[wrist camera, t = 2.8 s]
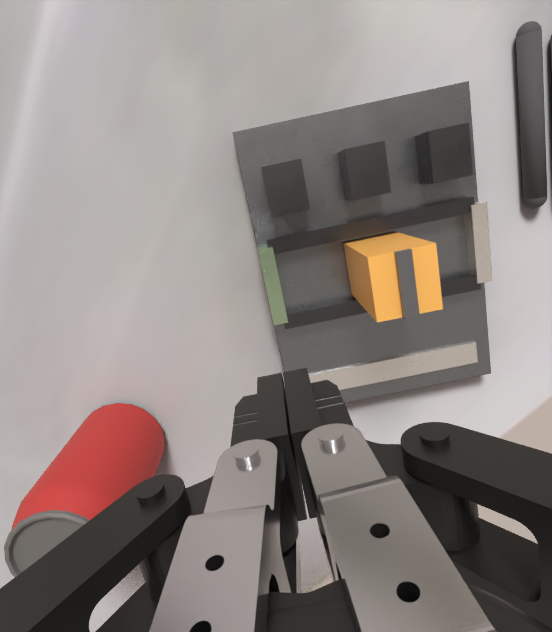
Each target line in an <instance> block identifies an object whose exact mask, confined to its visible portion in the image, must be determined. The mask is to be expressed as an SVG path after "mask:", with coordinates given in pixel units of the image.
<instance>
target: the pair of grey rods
mask: <svg viewBox="0 0 552 632" xmlns="http://www.w3.org/2000/svg"><path fill="white" fill-rule="evenodd" d="M516 55H517V75H518V96H519V117H520V138H521V158H522V179H523V199H524V203H525V204H526V205H527V206H528V207H530V208H537V207H540V206H542V205H543V204H544V203H545V202H546V200H547V175H546V145H545V116H544V86H543V56H542V30H541V26H540V25H539V24H538V23H537V22H534V21H530V22H527V23H525V24H523V25H522V26H521V27H520V28H519V30H518V31H517V34H516ZM551 70H552V35H551Z"/></svg>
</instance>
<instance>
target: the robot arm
mask: <svg viewBox="0 0 552 632" xmlns="http://www.w3.org/2000/svg"><path fill="white" fill-rule="evenodd" d="M283 375H284V382H283V378H282V374H281V373H278V374H273V375H268V376H263V377H258V381H257V394H255V395H250V396H245V397H243V398H242V399H241V400H240V401H239V403H238V404H237V405H236V406H235V413H234V422H233V425H234V426H233V431H232V439H231V447H230V448H229V449H227V450H226V451H225V452H224V453H223V454H222V455H221V456H220V458H219V460H218V462H217V466H216V470H215V473H214V476H212V477H211V478H209V479H207V480H205V481H203V482H200V483H198V484H195V485H193V486H191V487H188V488H186V489H185V485H184V482H183V480H182V479H181V478H180V477H178V476H175V475H159V476H155V477H152V478H149V479H146V480H144V481H142V482H140V483H139V484H137V485H136V486H134V487H133V488H131V489H130V490H129V491H127V492H126V493H125V494H123V495H122V496H121V497H120V498H118V499H117V500H116V501H114V502H113V503H112V504H110V505H109V506H108V507H106V508H105V509H104V510H103V511H101V512H100V513H99V514H97V515H96V516H95V517H93V518H92V519H91V520H90V521H88V522H87V523H86V524H84V525H83V526H82V527H80V528H79V529H78V530H76V531H75V532H74V533H73V534H71V535H70V536H69V537H67V538H66V539H65V540H63V541H62V542H61V543H59V544H58V545H57V546H56V547H54V548H53V549H52V550H50V551H49V552H48V553H46V554H45V555H44V556H42V557H41V558H40V559H39V560H37V561H36V562H35V563H33V564H32V565H31V566H29V567H28V568H27V569H26V570H24V571H23V572H22V573H20V574H19V575H18V576H16V577H15V578H14V579H12V580H11V581H10V582H9V583H7V584H6V585H5V586H3V587H2V588H1V589H0V632H90V631H89V620H90V616H91V613H92V611H93V609H94V608H95V606H96V605H97V603H98V602H99V601H100V600H101V599H102V598H103V597H104V596H105V595H106V594H107V593H108V592H109V591H110V590H111V589H112V588H113V587H115V586H116V585H117V584H118V583H119V582H120V581H121V580H122V579H123V578H124V577H125V576H126V575H127V574H128V573H130V572H131V571H132V570H133V569H134V568H135V567H136V566H137V565H138V564H139V565H140V568H141V571H142V574H143V577H144V579H145V583H144V584H143V585H142V586H141V587H140V588H139V589H138V590H137V591H136V592H135V593H134V594H133V595H132V596H131V597H130V598H129V599H128V600H127V601H126V602H125V603H124V604H123V605H122V606H121V607H120V608H119V609H118V610H117V611H116V612H115V613H114V614H113V615H112V616H111V617H110V618H109V619H108V620H107V621H106V622H105V623H104V624H103V625H102V626H101V627H100V628H99V629H98V630H97V631H96V632H552V454H550V453H547V452H544V451H540V450H537V449H533V448H530V447H527V446H524V445H520V444H516V443H513V442H510V441H507V440H503V439H500V438H496V437H493V436H490V435H486V434H483V433H479V432H476V431H473V430H469V429H466V428H462V427H459V426H456V425H452V424H448V423H442V422H429V423H422V424H418V425H415V426H413V427H411V428H409V429H408V430H406V431H405V432H404V433H403V435H402V437H401V444H378V443H373V442H370V441H367V440H365V438H364V437H363V435H362V433H361V432H360V431H359V430H358V429H357V428H355V427H354V426H353V423H352V421H351V418H350V416H349V413H348V411H347V408H346V406H345V404H344V401H343V399H342V396H341V394H340V391H339V389H338V386H337V385H335V384H334V383H332V382H330V381H329V380H323V381H318V382H313V383H311V382H310V378H309V375H308V371H307V368H302V369H297V370H292V371H287V372H283ZM284 383H285V387H284ZM302 486H303V488H302ZM303 490H304V495H305V499H306V504H307V508H308V513H309V517H310V518H315V517H317V521H318V525H319V530H320V534H321V539H322V544H323V548H324V551H325V555H326V559H327V562H328V566H329V569H330V573H331V577H332V580H333V582H332V583H330V584H328V585H326V586H323V587H321V588H319V589H317V590H314V591H312V592H309V593H301V566H300V546H299V542H298V521H301V520H306V519H307V516H306V509H305V502H304V495H303ZM477 504H479V505H481V506H484V507H486V508H489V509H491V510H493V511H496V512H498V513H500V514H503V515H505V516H508V517H510V518H512V519H515V520H517V521H519V522H520V523H522V524H523V525H524V526H526V527H527V528H528V529H529V530H530V531H531V532H532V533H533V535H534V536H535V538H536V540H537V542H538V544H536V543H534V542H532V541H530V540H528V539H525V538H523V537H521V536H519V535H516V534H514V533H512V532H510V531H507V530H505V529H503V528H501V527H498V526H496V525H494V524H492V523H489V522H487V521H485V520H483V519H480V518H479V517H478V508H477Z"/></svg>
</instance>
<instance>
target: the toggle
mask: <svg viewBox="0 0 552 632" xmlns="http://www.w3.org/2000/svg"><path fill="white" fill-rule="evenodd" d="M343 245H344V251H345V257H346V263H347V269H348V276H349V282H350V288H351V294H352V295H353V296H354V297H355V299H356V300H357V301H358V302H359V303H360V304H361V305H362V306H363V307H364V309H365V310H366V311H367V312H368V313H369V314H370V315H371V316H372V317H373V319H374V320H375V321H376V322H377V323H378V322H383V321H387V320H392V319H397V318H402V317H403V318H404V319H410V318H414V317H419V316H420V314H422V313H426V312H431V311H436V310H441V309H443V304H442V295H441V285H440V276H439V266H438V256H437V247H436V243H434V242H430V241H427V240H423V239H420V238H416V237H413V236H409V235H406V234H402V233H399V232H393V233H388V234H383V235H378V236H374V237H369V238H364V239H359V240H354V241H350V242H345V243H343Z"/></svg>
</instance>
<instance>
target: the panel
mask: <svg viewBox="0 0 552 632" xmlns="http://www.w3.org/2000/svg"><path fill="white" fill-rule="evenodd" d="M233 136H234V141H235V145H236V150H237V155H238V159H239V164H240V168H241V173H242V178H243V182H244V187H245V192H246V196H247V201H248V205H249V210H250V215H251V219H252V224H253V229H254V233H255V238H256V243H257V247H258V255H259V259H260V264H261V269H262V273H263V278H264V282H265V287H266V292H267V296H268V301H269V306H270V310H271V315H272V319H273V324H274V326H275V331H276V335H277V340H278V344H279V349H280V354H281V358H282V363H283V368H284V372H287V371H292V370H297V369H302V368H307V371H308V375H309V378H310V382H311V383H313V382H318V381H323V380H329V381H330V382H332V383H334V384H335V385H337V386H338V389H339V391H340V394H341V396H342V399H343V401H344V403H346V402H351V401H356V400H361V399H366V398H371V397H376V396H381V395H386V394H391V393H396V392H401V391H406V390H411V389H416V388H421V387H426V386H430V385H435V384H440V383H445V382H450V381H455V380H460V379H465V378H470V377H475V376H480V375H485V374H490V373H491V367H490V354H489V341H488V328H487V315H486V302H485V288H484V282H488V281H492V268H491V254H490V240H489V226H488V211H487V202H478V196H477V183H476V170H475V157H474V143H473V130H472V117H471V104H470V91H469V81H468V82H463V83H459V84H454V85H449V86H445V87H440V88H436V89H431V90H426V91H422V92H417V93H413V94H408V95H403V96H399V97H394V98H390V99H385V100H380V101H376V102H371V103H366V104H362V105H357V106H353V107H348V108H343V109H339V110H334V111H330V112H325V113H320V114H316V115H311V116H307V117H302V118H297V119H293V120H288V121H284V122H279V123H274V124H270V125H265V126H261V127H256V128H251V129H247V130H242V131H238V132H233ZM393 232H399V233H402V234H406V235H409V236H413V237H416V238H420V239H423V240H427V241H430V242H434V243H436V247H437V256H438V266H439V276H440V285H441V295H442V304H443V309H441V310H436V311H431V312H426V313H422V314H420V316H419V317H414V318H410V319H404V318H403V317H402V318H397V319H392V320H387V321H383V322H378V323H377V322H376V321H375V320H374V319H373V317H372V316H371V315H370V314H369V313H368V312H367V311H366V310H365V309H364V307H363V306H362V305H361V304H360V303H359V302H358V301H357V300H356V299H355V297H354V296H353V295H352V294H351V288H350V282H349V276H348V269H347V263H346V257H345V251H344V245H343V243H345V242H350V241H354V240H359V239H364V238H369V237H374V236H378V235H383V234H388V233H393Z"/></svg>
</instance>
